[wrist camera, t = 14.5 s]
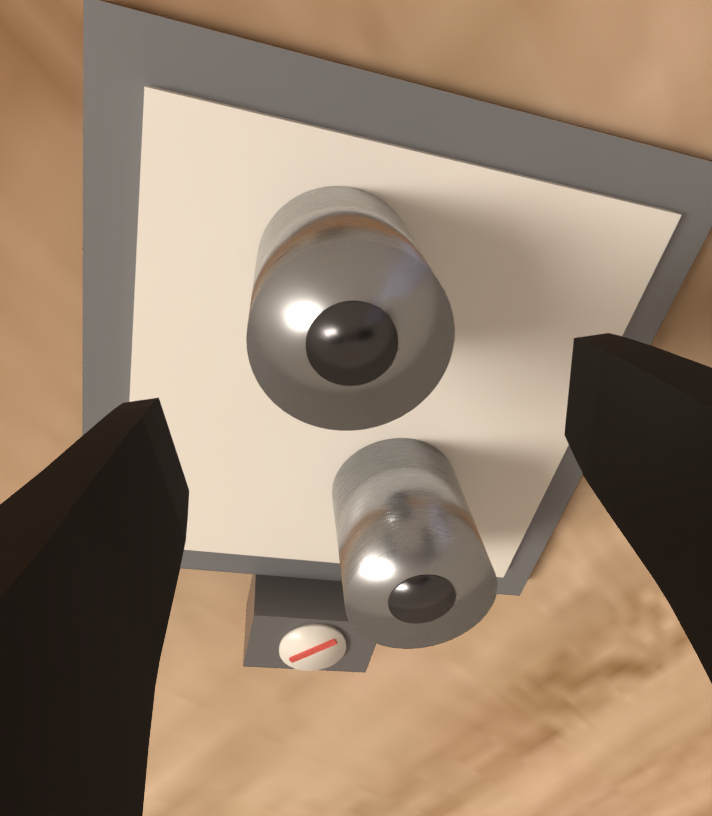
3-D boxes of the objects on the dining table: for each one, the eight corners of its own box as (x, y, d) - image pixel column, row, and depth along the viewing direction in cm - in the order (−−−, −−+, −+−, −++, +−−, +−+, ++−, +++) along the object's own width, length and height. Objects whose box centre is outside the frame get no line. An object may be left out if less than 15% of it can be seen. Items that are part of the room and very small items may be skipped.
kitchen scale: (720, 163, 18) (798, 186, 16) (489, 622, 29) (512, 685, 26) (95, -2, 15) (51, -10, 12) (88, 594, 25) (64, 664, 22)
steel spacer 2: (424, 417, 20) (463, 519, 16) (473, 503, 23) (518, 612, 18) (308, 474, 21) (316, 587, 17) (367, 552, 23) (387, 668, 19)
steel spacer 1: (394, 164, 16) (433, 212, 12) (428, 315, 18) (471, 401, 14) (232, 214, 16) (212, 279, 12) (286, 356, 19) (286, 454, 14)
